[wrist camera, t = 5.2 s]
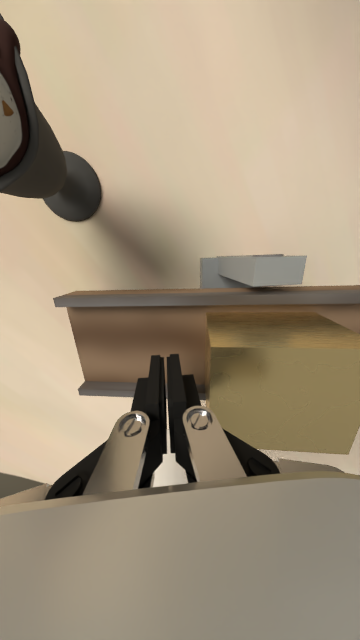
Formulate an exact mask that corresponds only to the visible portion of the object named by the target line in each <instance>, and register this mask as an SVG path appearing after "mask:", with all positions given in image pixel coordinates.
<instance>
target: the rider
mask: <svg viewBox="0 0 360 640" xmlns="http://www.w3.org/2000/svg"><path fill="white" fill-rule="evenodd" d="M205 396H206V408H209V409H210V410H211V411H213V413H214V414H215V416H216V418H217V420H218V422H219V423H220V425H221V427H222V428H223V429H224V430H226V431H228V432H229V433H231V434H233V435H234V436H236V437H237V438H239V439H241V440H242V441H244V442H246V443H247V444H249V445H250V446H252V447H254V448H255V449H266V450H282V451H298V452H314V453H330V454H346V455H348V454H349V452H350V449H351V446H352V444H353V441H354V439H355V436H356V434H357V431H358V429H359V426H360V334H358V333H356V332H354V331H352V330H350V329H348V328H346V327H344V326H342V325H340V324H338V323H336V322H334V321H332V320H330V319H328V318H326V317H324V316H322V315H320V314H318V313H316V312H206V340H205Z"/></svg>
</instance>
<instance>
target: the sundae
mask: <svg viewBox="0 0 360 640" xmlns="http://www.w3.org/2000/svg"><path fill="white" fill-rule="evenodd" d="M0 193H5V194H9V195H13V196H18V197H25V198H43V200H44V201H45V203H46V205H47V206H48V207H49V208H50V209H51V210H52V211H53V212H54V213H55V214H57V215H58V216H60V217H62V218H64V219H66V220H70V221H81V220H85V219H87V218H89V217H90V216H91V215H92V214H93V213H94V212H95V211H96V210H97V208H98V205H99V202H100V199H101V191H100V184H99V181H98V178H97V176H96V173H95V171H94V170H93V169H92V167H91V166H90V165H89V164H88V163H87V161H86V160H84V159H83V158H81V157H80V156H78V155H76V154H75V153H72V152H67V151H62V149H61V147H60V144H59V142H58V140H57V139H56V137H55V135H54V133H53V131H52V129H51V127H50V125H49V124H48V122H47V121H46V119H45V118H44V116H43V115H42V113H41V112H40V110H39V109H38V107H37V106H36V104H35V102H34V99H33V95H32V91H31V87H30V83H29V79H28V75H27V72H26V70H25V67H24V65H23V62H22V60H21V57H20V43H19V40H18V37H17V35H16V34H15V32H14V30H13V29H12V28H11V26H10V25H9V24H8V23H7V22H6V21H4V19H3V17H2V16H1V14H0Z"/></svg>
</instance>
